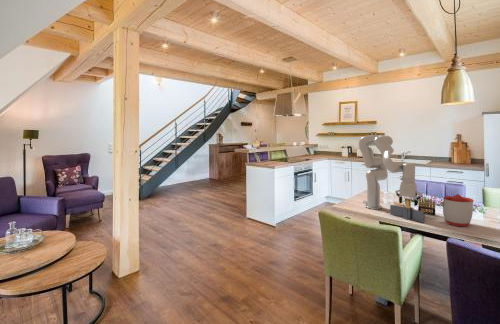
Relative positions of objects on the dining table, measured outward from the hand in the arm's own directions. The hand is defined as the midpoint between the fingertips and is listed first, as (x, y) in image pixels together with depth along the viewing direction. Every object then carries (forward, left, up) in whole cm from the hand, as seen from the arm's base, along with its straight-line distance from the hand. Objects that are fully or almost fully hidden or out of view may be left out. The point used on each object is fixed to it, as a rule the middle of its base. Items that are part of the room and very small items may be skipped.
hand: (408, 204), depth 182 cm
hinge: (0, 0, -10) cm, 10 cm away
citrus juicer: (+25, +9, -10) cm, 29 cm away
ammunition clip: (+5, +20, -10) cm, 23 cm away
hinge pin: (0, 0, -10) cm, 10 cm away
